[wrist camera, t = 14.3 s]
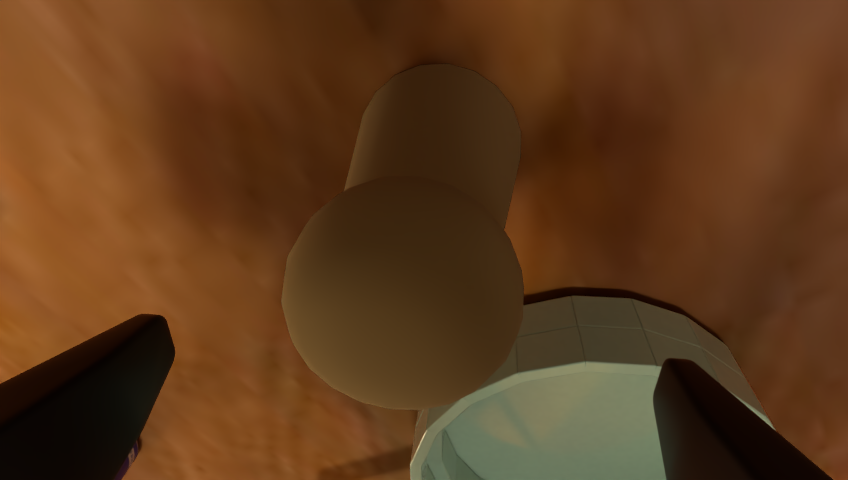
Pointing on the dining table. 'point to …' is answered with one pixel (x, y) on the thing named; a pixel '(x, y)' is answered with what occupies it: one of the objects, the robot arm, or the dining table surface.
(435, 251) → the tan gourd shape
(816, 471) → the robot arm
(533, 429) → the pan
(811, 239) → the dining table surface
